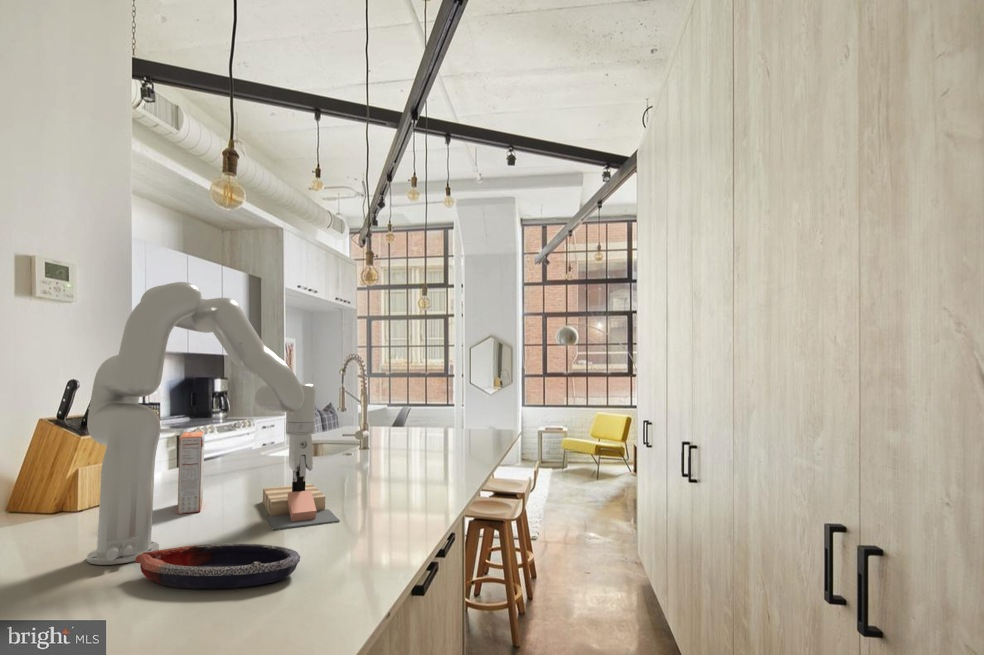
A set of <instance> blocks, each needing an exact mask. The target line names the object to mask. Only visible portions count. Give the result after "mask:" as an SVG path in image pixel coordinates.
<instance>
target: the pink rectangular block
mask: <svg viewBox="0 0 984 655" xmlns="http://www.w3.org/2000/svg"><path fill="white" fill-rule="evenodd" d="M287 501H288V506H289V511H290V517H291V521H298V520H306V519H314V518H316V511H317V510H316V507H315V503H314V499H313V495H312V491H311V490H308V491H298V492H288V498H287Z"/></svg>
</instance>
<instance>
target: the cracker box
mask: <svg viewBox="0 0 984 655" xmlns="http://www.w3.org/2000/svg"><path fill="white" fill-rule="evenodd" d="M204 467H205V431H204V430H203V431H185V432H183V433H182V434H181V436H180V437H179V450H178V473H177V475H178V477H177V478H178V479H177V480H178V481H177V485H178V486H177V515H184V513H186V514H191V513H200V512H201V510H202V504H203V501H204V500H203V498H204V497H203V495H204V470H205V468H204Z"/></svg>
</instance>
